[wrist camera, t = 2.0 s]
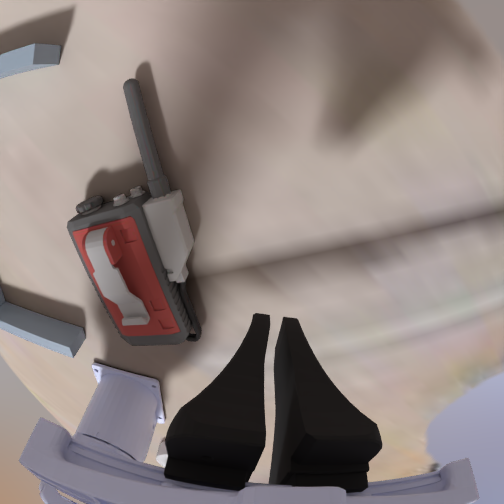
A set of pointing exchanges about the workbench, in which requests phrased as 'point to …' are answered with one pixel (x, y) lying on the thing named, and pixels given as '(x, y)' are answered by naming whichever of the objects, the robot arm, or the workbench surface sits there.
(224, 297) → the workbench surface
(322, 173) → the workbench surface
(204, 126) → the workbench surface
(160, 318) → the walkie-talkie
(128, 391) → the robot arm
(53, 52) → the centring jig
